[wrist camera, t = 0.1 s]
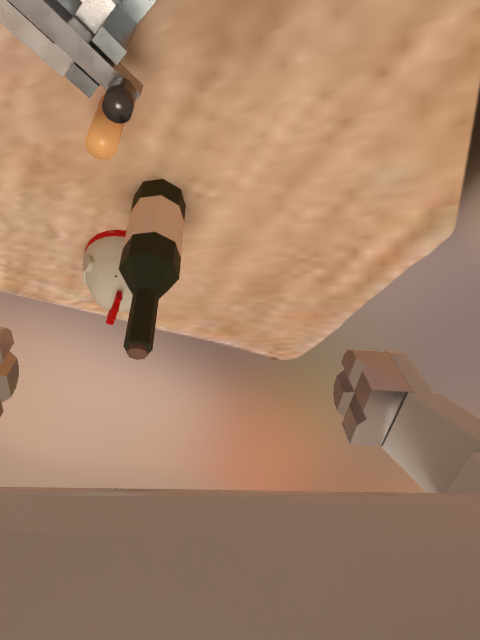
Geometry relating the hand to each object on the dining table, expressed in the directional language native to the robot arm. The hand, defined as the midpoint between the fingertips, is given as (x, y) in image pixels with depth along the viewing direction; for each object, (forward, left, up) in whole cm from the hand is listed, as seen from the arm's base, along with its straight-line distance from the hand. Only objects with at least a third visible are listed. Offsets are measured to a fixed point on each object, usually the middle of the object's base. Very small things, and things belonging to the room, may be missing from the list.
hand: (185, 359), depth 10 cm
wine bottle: (+29, +18, -52) cm, 63 cm away
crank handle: (+15, -4, -45) cm, 47 cm away
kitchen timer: (+44, +22, -52) cm, 72 cm away
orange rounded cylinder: (+22, +4, -52) cm, 57 cm away
